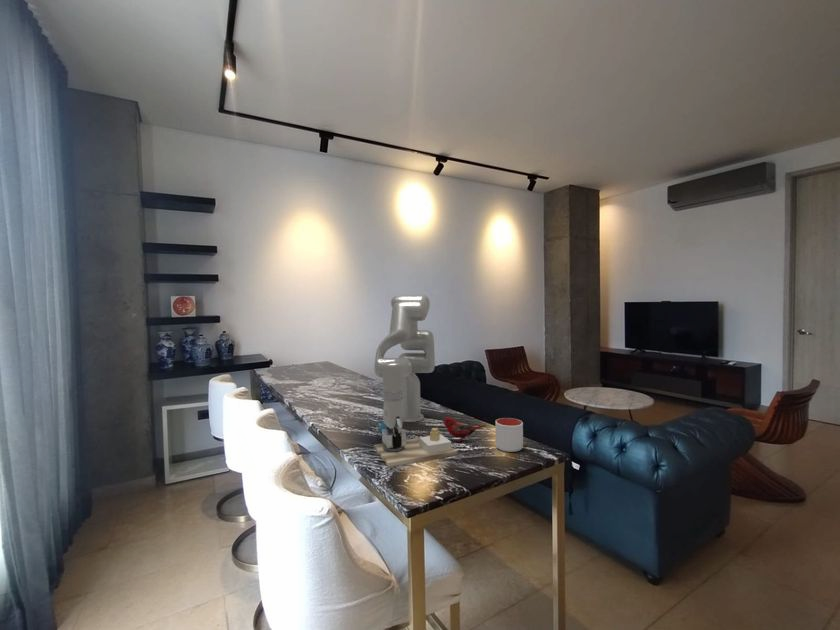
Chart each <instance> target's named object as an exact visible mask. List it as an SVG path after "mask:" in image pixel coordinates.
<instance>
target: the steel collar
mask: <svg viewBox="0 0 840 630" xmlns="http://www.w3.org/2000/svg"><path fill="white" fill-rule="evenodd" d="M396 430H397V429H395V431H396ZM392 431H393V428H392V429H390V428H389V429H382V436H381V442H382V444H383V443H384V444H385V445H386V446H387V448H390V447H393V436H394V434H393V433H390V432H392ZM406 440H407V432H405V430H403V429H402V446H403V445H406Z"/></svg>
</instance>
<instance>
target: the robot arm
mask: <svg viewBox="0 0 840 630" xmlns="http://www.w3.org/2000/svg"><path fill="white" fill-rule="evenodd" d="M390 305H391V314H390V315H391V318H390V325H389V333H388V334H387V336H386V337H384V339H383V340H382V341H381V342H380V344H379V345H378V347H377V348H376V351H375V357H374V359H375V360H374V373H375V375H376V376H377V377H378V378H382V400H383V407H382V408H383V410H382V414H383V416H382V417H383V418H382V422H384V423H385V424H386V428H387V429H389V428H390V429H392V428H393V434H394V436H393V447H398V446H402V430H403V427H404V426H403V425H404V424H403V423H417V422H416V421H418V422H421V421H423V420H424V419H425V418H424V417H425V416H424V414H422V413H421V382H420V381H421V380H420V379H419V377H418V376H417V375H416V374H431V373H433V372H434V371H435V367H436V361H435V359H436V357H435V354H436V353H435V337H434V334H433V332H432V331H431V330H428V329H419V328H418V327H419V326H418V322H423V321H425V320H426V318H427V316H428V313H429V311H430V307H431V306H430V299H429V297H428V296H427V295H425V294H412V295H411V294H408V295H407V294H405V295H404V294H402V295H401V294H400V295H394V296H393V297H392V298H391V301H390ZM399 344H400V347H401V349H403V350H404V351H423V352H403V353H401V354H400V355H399V356H398V357H385V354H386V353H387V352H388V351H389V350H390V349H391V348H393V347H395V346H397V345H399ZM396 425H397V427H394V426H396ZM395 429H397V430H396V432H395Z"/></svg>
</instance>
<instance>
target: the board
mask: <svg viewBox="0 0 840 630" xmlns="http://www.w3.org/2000/svg"><path fill="white" fill-rule="evenodd" d="M419 438H420V437H417V438H410V439H406V445H405V448H404V450H402V451H399V452H387V451H385V450H383V445H384V443H383V442H382V443H378V444H374V445H373V450H374V451H375V450H376V451H377V452H376V451H375V452H376V454H377V453H378V454H379V455H380V456H379V455H378V454H377V455H378V456H379V457H381V458H382V459H383V460H382V459H381V458H380V459H381V460H382V461H384V462H385V463H384V462H383V463H384V464H385V466H386V465H387V466H386V467H387V468H392V467H398V466H404V465H409V464H414V463H416V464H417V463H421V462H426V461H432V460H435V459H436V460H437V459H442V458H443V459H444V458H449V457H453V456H458V450H456V449H455V448H454V447H453V446H451V450H449V451H444V452H438V453H432V454H428V453H427V452H426V451H425V450H424V449H423V448H421V447H420V446H419Z"/></svg>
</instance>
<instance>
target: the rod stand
mask: <svg viewBox="0 0 840 630" xmlns="http://www.w3.org/2000/svg"><path fill="white" fill-rule="evenodd" d="M395 432H396V431H395ZM390 433H393V431H392V432H390ZM404 448H405V445H403V446H398V447H390V448H387V446H386V445H385V444H384V445H383V450H385V451H387V452H399V451H402V450H404Z"/></svg>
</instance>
